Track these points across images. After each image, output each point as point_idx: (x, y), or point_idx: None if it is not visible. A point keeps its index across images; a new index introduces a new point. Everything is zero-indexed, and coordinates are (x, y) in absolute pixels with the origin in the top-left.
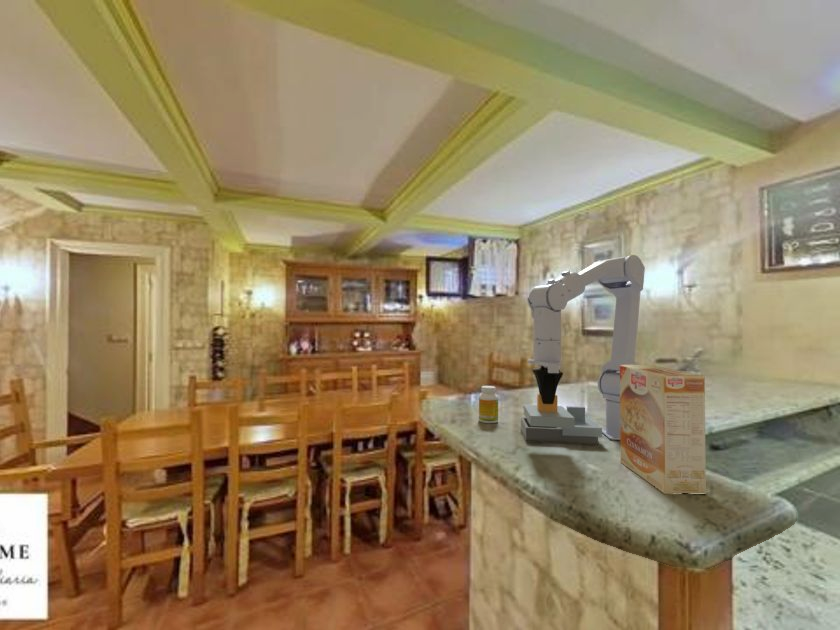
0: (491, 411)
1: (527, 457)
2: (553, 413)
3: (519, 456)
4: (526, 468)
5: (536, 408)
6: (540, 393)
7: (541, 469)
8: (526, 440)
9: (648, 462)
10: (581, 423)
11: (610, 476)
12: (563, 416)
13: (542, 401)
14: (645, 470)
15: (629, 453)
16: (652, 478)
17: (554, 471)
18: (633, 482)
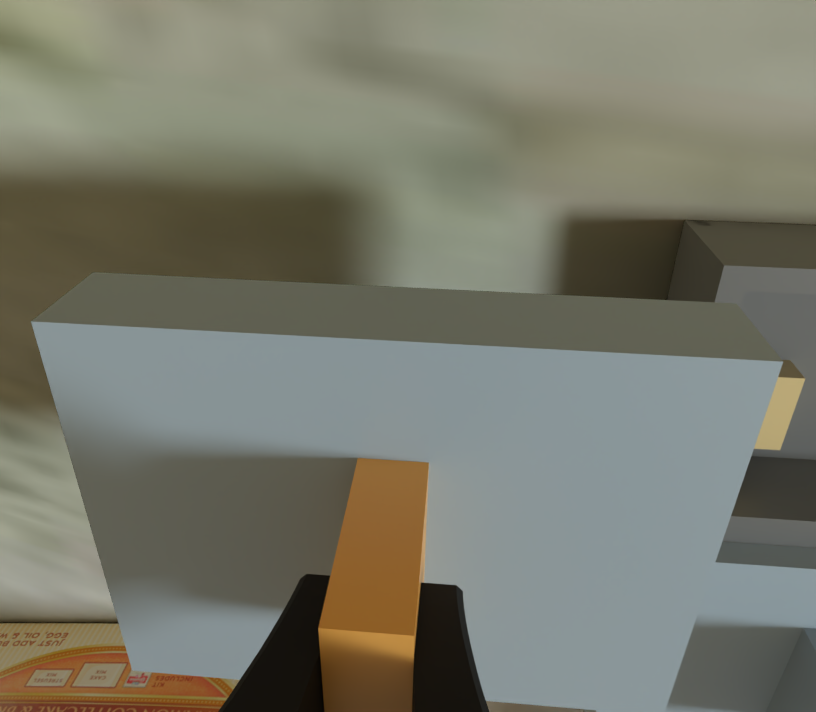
0: None
1: (265, 161)
2: (262, 569)
3: (273, 99)
4: (26, 114)
5: (504, 468)
6: (415, 681)
7: (49, 215)
8: (686, 226)
9: (10, 699)
10: (726, 684)
11: (88, 523)
12: (152, 612)
13: (302, 591)
14: (62, 658)
15: (185, 687)
16: (21, 646)
17: (47, 287)
18: (51, 577)
